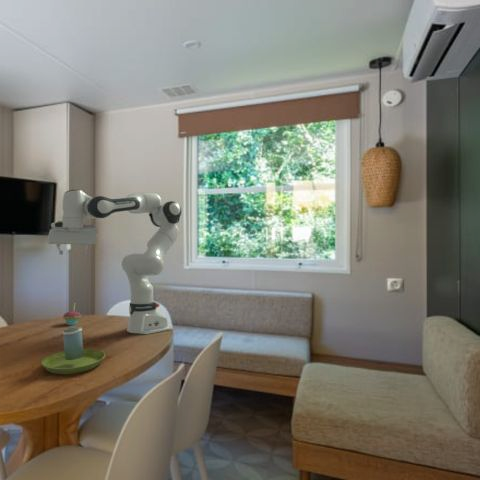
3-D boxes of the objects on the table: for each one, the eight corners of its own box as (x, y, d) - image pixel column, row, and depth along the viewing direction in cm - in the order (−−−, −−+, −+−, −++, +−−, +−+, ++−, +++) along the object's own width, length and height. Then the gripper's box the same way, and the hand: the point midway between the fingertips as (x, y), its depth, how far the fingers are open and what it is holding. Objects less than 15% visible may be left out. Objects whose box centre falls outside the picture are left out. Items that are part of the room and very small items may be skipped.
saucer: (101, 374, 111) (101, 365, 111) (32, 381, 106) (33, 371, 106) (107, 354, 131) (108, 346, 131) (50, 358, 125) (50, 350, 125)
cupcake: (70, 322, 181) (70, 300, 181) (84, 322, 180) (84, 301, 180) (59, 325, 172) (59, 303, 172) (74, 326, 171) (74, 303, 171)
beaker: (85, 352, 123) (83, 326, 122) (83, 358, 117) (80, 330, 116) (66, 355, 120) (64, 328, 120) (63, 361, 114) (60, 333, 114)
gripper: (96, 225, 158) (96, 253, 158) (47, 223, 148) (47, 254, 148) (98, 225, 153) (97, 254, 153) (47, 223, 142) (47, 254, 142)
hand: (72, 254), depth 150 cm, fingers open, 8 cm apart
